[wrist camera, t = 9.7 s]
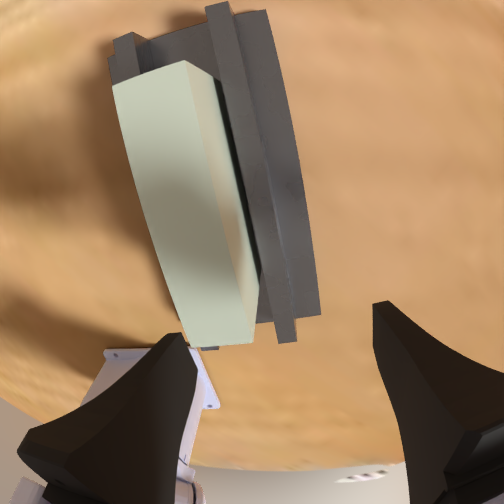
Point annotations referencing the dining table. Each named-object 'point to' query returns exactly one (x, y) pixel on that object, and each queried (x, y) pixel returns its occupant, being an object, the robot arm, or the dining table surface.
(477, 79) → the dining table surface
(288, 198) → the rail
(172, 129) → the sage green block
